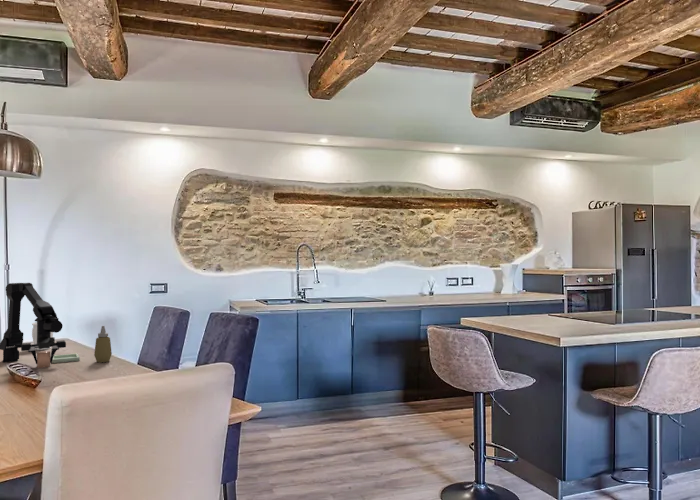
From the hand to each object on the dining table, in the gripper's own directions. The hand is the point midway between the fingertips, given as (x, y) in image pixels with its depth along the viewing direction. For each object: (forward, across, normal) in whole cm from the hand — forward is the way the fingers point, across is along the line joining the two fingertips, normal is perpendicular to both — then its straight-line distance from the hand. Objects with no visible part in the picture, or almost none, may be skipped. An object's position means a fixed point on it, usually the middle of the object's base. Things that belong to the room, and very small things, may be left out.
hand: (43, 363), depth 260 cm
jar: (+2, +1, +54) cm, 54 cm away
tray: (+2, +10, +12) cm, 16 cm away
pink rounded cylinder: (+2, 0, 0) cm, 2 cm away
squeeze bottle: (+2, +26, -2) cm, 26 cm away
